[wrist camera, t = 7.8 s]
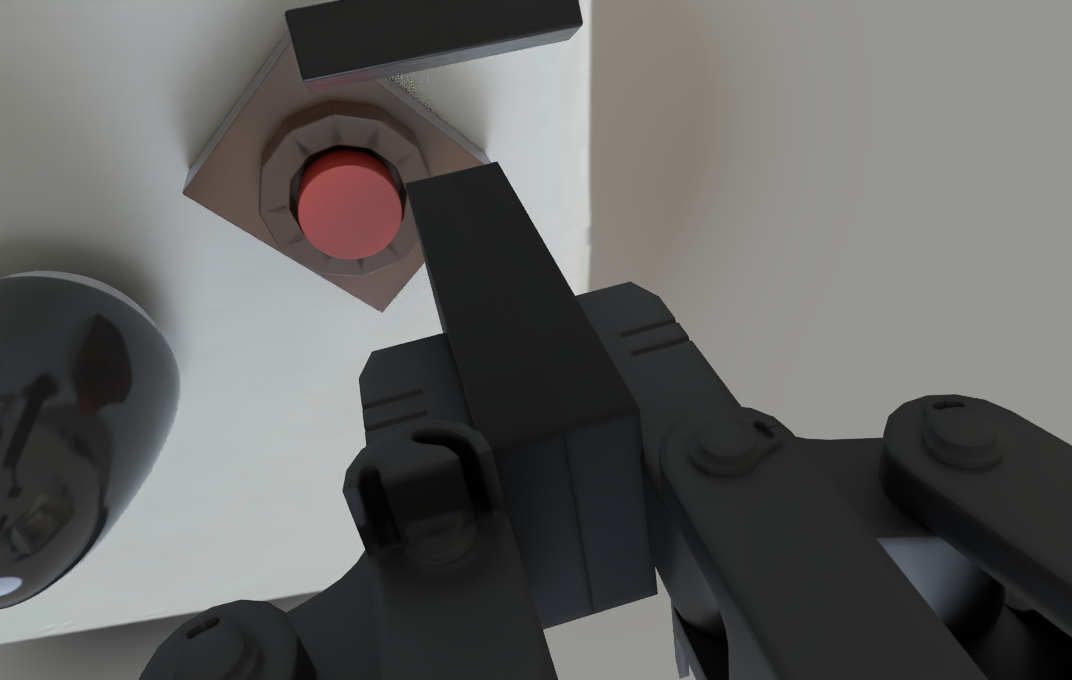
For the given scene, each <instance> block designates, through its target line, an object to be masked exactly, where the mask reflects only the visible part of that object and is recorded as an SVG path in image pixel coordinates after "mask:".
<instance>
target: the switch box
mask: <svg viewBox="0 0 1072 680" xmlns="http://www.w3.org/2000/svg"><path fill="white" fill-rule="evenodd" d="M339 150H354V151H359V152H363V153H366V154H368V155H370V156H372V157H374V158H376V159H377V160H379V161H380V162H381V163H382V164H383V165H384V166H385V167H386V168H387V169H388V170H389V172H390V173H391V175H392V176H393V178H394V181H395V183H396V187H397V190H398V194H399V198H400V202H401V206H402V219H401V224H400V227H399V230H398V232H397V234H396V235H395V237H394V238H393V240H392V241H391V242H390V243H389V244H388V245H387V246H386V247H385V248H383V249H382V250H381V251H379V252H377V253H375V254H373V255H371V256H368V257H365V258H360V259H341V258H337V257H333V256H330V255H328V254H326V253H324V252H322V251H320V250H319V249H317V248H316V247H315V246H314V245H313V244H312V243H311V242H310V241H309V240H308V239H307V238H306V236H305V235H304V233H303V231H302V229H301V226H300V223H299V219H298V186H299V183H300V180H301V178H302V175H303V174H304V172H305V171H306V169H307V168H308V167H309V166H310V164H312V163H313V162H314V161H315V160H316V159H318V158H320V157H321V156H323V155H325V154H328V153H331V152H334V151H339ZM489 163H491V162H490V160H489V158H488V156H487V155H486V153H484V152H483V151H482V150H481V149H479V148H478V147H477V146H475V145H474V144H473V143H472V142H470V141H469V140H468V139H466V138H465V137H464V136H463V135H461V134H460V133H459V132H457V131H456V130H455V129H454V128H452V127H451V126H450V125H448V124H447V123H446V122H445V121H443V120H442V119H441V118H439V117H438V116H437V115H436V114H434V113H433V112H432V111H431V110H429V109H428V108H427V107H425V106H424V105H423V104H422V103H420V102H419V101H418V100H416V99H415V98H414V97H413V96H411V95H410V94H409V93H407V92H406V91H405V90H404V89H402V88H401V87H400V86H398V85H397V84H396V83H395V82H393V81H392V80H391V79H390V78H388V77H385V78H380V79H375V80H370V81H365V82H361V83H356V84H351V85H346V86H341V87H336V88H331V89H326V90H321V91H317V92H310V91H309V90H308V88H307V87H306V85H305V84H304V82H303V81H302V79H301V75H300V72H299V68H298V64H297V60H296V56H295V53H294V49H293V45H292V41H291V37H290V34H289V30H288V31H287V32H286V33H285V35H284V36H283V38H282V39H281V40H280V42H279V43H278V45H277V46H276V47H275V49H274V50H273V52H272V53H271V55H270V56H269V57H268V59H267V60H266V62H265V63H264V64H263V66H262V67H261V69H260V70H259V72H258V73H257V74H256V76H255V77H254V79H253V80H252V81H251V83H250V84H249V86H248V87H247V89H246V90H245V91H244V93H243V94H242V96H241V97H240V98H239V100H238V101H237V103H236V104H235V105H234V107H233V108H232V110H231V111H230V113H229V114H228V115H227V117H226V118H225V120H224V121H223V122H222V124H221V125H220V127H219V128H218V130H217V131H216V132H215V134H214V135H213V137H212V138H211V139H210V141H209V142H208V144H207V145H206V146H205V148H204V149H203V151H202V152H201V154H200V155H199V156H198V158H197V159H196V161H195V162H194V163H193V165H192V166H191V168H190V169H189V172H188V175H187V179H186V182H185V186H184V189H183V194H184V195H185V196H187V197H189V198H190V199H192V200H194V201H195V202H197V203H199V204H200V205H202V206H204V207H205V208H207V209H209V210H211V211H212V212H214V213H216V214H217V215H219V216H221V217H222V218H224V219H226V220H227V221H229V222H231V223H232V224H234V225H236V226H237V227H239V228H241V229H242V230H244V231H246V232H247V233H249V234H251V235H252V236H254V237H256V238H258V239H259V240H261V241H263V242H264V243H266V244H268V245H269V246H271V247H273V248H274V249H276V250H278V251H279V252H281V253H283V254H284V255H286V256H288V257H289V258H291V259H293V260H294V261H296V262H298V263H299V264H301V265H303V266H304V267H306V268H308V269H310V270H311V271H313V272H315V273H316V274H318V275H320V276H321V277H323V278H325V279H326V280H328V281H330V282H331V283H333V284H335V285H336V286H338V287H340V288H341V289H343V290H345V291H346V292H348V293H350V294H351V295H353V296H355V297H357V298H358V299H360V300H362V301H363V302H365V303H367V304H368V305H370V306H372V307H373V308H375V309H377V310H378V311H380V312H383V311H384V310H385V309H386V308H387V306H388V305H389V304H390V303H391V302H392V300H393V299H394V298H395V297H396V296H397V294H398V293H399V292H400V291H401V290H402V289H403V287H404V286H405V285H406V284H407V283H408V281H409V280H410V279H411V278H412V277H413V275H414V274H415V273H416V272H417V271H418V269H419V268H420V267H421V266H422V265H423V263H424V262H425V260H424V256H423V252H422V248H421V245H420V241H419V237H418V233H417V229H416V225H415V221H414V217H413V213H412V210H411V206H410V202H409V198H408V194H407V190H406V186H405V183H409V182H413V181H418V180H422V179H426V178H430V177H434V176H439V175H443V174H447V173H451V172H455V171H460V170H464V169H468V168H472V167H477V166H481V165H485V164H489Z"/></svg>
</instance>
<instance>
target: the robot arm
mask: <svg viewBox="0 0 1072 680" xmlns="http://www.w3.org/2000/svg"><path fill="white" fill-rule="evenodd" d="M405 186H406V190H407V194H408V198H409V202H410V206H411V210H412V213H413V217H414V221H415V225H416V229H417V233H418V237H419V241H420V245H421V248H422V252H423V256H424V260H425V264H426V268H427V272H428V276H429V280H430V284H431V287H432V291H433V295H434V299H435V303H436V307H437V311H438V315H439V319H440V322H441V326H442V330H443V333H442V334H438V335H434V336H430V337H426V338H423V339H419V340H415V341H411V342H407V343H403V344H400V345H396V346H392V347H388V348H384V349H380V350H377V351H373V352H372V353H371V355H370V357H369V359H368V361H367V363H366V365H365V367H364V369H363V371H362V373H361V375H360V377H359V385H360V394H361V403H362V407H363V410H362V411H363V420H364V428H365V431H366V432H365V438H366V447H365V448H363V449H362V450H361V451H360V452H359V454H358V455H357V456H356V458H355V459H354V461H353V462H352V463H351V465H350V466H349V468H348V469H347V471H346V476H345V481H344V486H343V494H344V496H345V499H346V501H347V504H348V507H349V509H350V512H351V514H352V517H353V519H354V522H355V524H356V527H357V529H358V532H359V534H360V537H361V539H362V542H363V544H364V547H365V551H364V553H363V554H362V556H361V557H360V559H359V560H358V562H357V563H356V564H355V565H354V566H353V567H352V568H351V569H350V570H349V571H348V572H347V573H346V574H345V575H344V576H343V577H342V578H341V579H340V580H338V581H337V582H335V583H334V584H333V585H331V586H330V587H328V588H327V589H325V590H324V591H323V592H321V593H319V594H318V595H316V596H314V597H312V598H311V599H309V600H307V601H306V602H304V603H302V604H300V605H299V606H297V607H295V608H294V609H292V610H290V611H289V612H287V613H286V612H284V611H282V610H280V609H279V608H277V607H275V606H273V605H272V604H270V603H268V602H266V601H252V600H238V601H234V602H230V603H226V604H222V605H219V606H215V607H211V608H210V609H208V610H206V611H204V612H203V613H201V614H199V615H197V616H196V617H194V618H192V619H190V620H188V621H187V622H185V623H183V624H182V625H181V626H180V627H179V628H178V629H177V630H176V631H175V632H173V633H172V634H171V635H170V636H169V637H168V638H167V639H166V640H165V641H164V642H163V643H162V644H161V645H160V646H159V647H158V648H157V650H156V651H155V653H154V655H153V656H152V658H151V659H150V661H149V663H148V664H147V666H146V668H145V669H144V671H143V672H142V674H141V676H140V678H139V680H558V678H557V674H556V671H555V668H554V665H553V661H552V658H551V655H550V652H549V648H548V645H547V642H546V639H545V635H544V632H543V629H546V628H550V627H553V626H556V625H559V624H563V623H566V622H569V621H572V620H576V619H579V618H582V617H585V616H589V615H592V614H595V613H598V612H602V611H605V610H608V609H611V608H614V607H617V606H621V605H624V604H627V603H631V602H634V601H637V600H640V599H644V598H647V597H650V596H653V595H656V594H658V592H657V582H656V573H655V567H656V569H657V571H658V573H659V575H660V577H661V579H662V581H663V583H664V586H665V588H666V590H667V592H668V594H669V596H670V598H671V608H672V620H673V633H674V644H675V657H676V663H677V668H678V672H679V677H680V678H683V677H686V676H689V665H690V667H691V670H692V672H693V674H694V676H695V678H696V680H1072V446H1071V445H1069V444H1068V443H1066V442H1064V441H1063V440H1061V439H1059V438H1058V437H1056V436H1054V435H1052V434H1051V433H1049V432H1047V431H1045V430H1044V429H1042V428H1040V427H1038V426H1036V425H1035V424H1033V423H1031V422H1029V421H1028V420H1026V419H1024V418H1023V417H1021V416H1019V415H1017V414H1016V413H1014V412H1012V411H1010V410H1008V409H1005V408H1003V407H1001V406H998V405H996V404H993V403H991V402H989V401H986V400H983V399H978V398H972V397H967V396H961V395H955V394H954V395H953V394H952V395H929V396H924V397H921V398H918V399H915V400H912V401H909V402H906V403H904V404H902V405H901V406H900V407H899V408H898V409H896V410H895V411H894V412H893V413H892V414H891V415H889V417H888V420H887V424H886V427H885V431H884V434H883V438H865V439H838V440H822V439H821V440H820V439H805V438H800V437H795V436H794V434H793V433H792V432H791V431H790V430H789V429H788V428H786V427H785V426H784V425H783V424H782V423H781V422H779V421H778V420H777V419H776V418H775V417H773V416H770V415H767V414H765V413H762V412H760V411H757V410H755V409H752V408H746V407H741V406H740V404H739V403H738V402H737V400H736V399H735V398H734V396H733V395H732V394H731V393H730V391H729V390H728V388H727V387H726V386H725V384H724V383H723V382H722V380H721V379H720V378H719V376H718V375H717V374H716V372H715V371H714V370H713V368H712V367H711V366H710V364H709V363H708V362H707V360H706V359H705V357H704V356H703V355H702V353H701V352H700V351H699V350H698V348H697V347H696V345H694V343H693V341H690V340H689V337H688V335H687V334H686V332H685V331H684V330H683V328H682V327H681V325H680V324H679V323H676V321H675V317H674V316H673V315H672V313H671V312H670V311H669V309H668V308H667V307H666V305H665V304H664V303H663V302H662V300H661V299H660V297H659V296H657V295H655V294H653V293H651V292H649V291H647V290H645V289H643V288H641V287H640V286H638V285H636V284H634V283H632V282H627V283H623V284H620V285H615V286H612V287H608V288H604V289H600V290H596V291H592V292H589V293H585V294H581V295H577V296H575V295H574V293H573V292H572V290H571V288H570V287H569V285H568V283H567V281H566V280H565V278H564V276H563V274H562V273H561V271H560V269H559V267H558V266H557V264H556V262H555V261H554V259H553V257H552V255H551V254H550V252H549V250H548V248H547V247H546V245H545V243H544V241H543V240H542V238H541V236H540V235H539V233H538V231H537V229H536V228H535V226H534V224H533V222H532V221H531V219H530V217H529V215H528V214H527V212H526V210H525V209H524V207H523V205H522V203H521V202H520V200H519V198H518V196H517V195H516V193H515V191H514V189H513V188H512V186H511V184H510V183H509V181H508V179H507V177H506V176H505V174H504V172H503V170H502V169H501V167H500V165H499V164H498V162H493V163H489V164H485V165H481V166H477V167H472V168H468V169H464V170H460V171H455V172H451V173H447V174H443V175H439V176H434V177H430V178H426V179H422V180H418V181H413V182H409V183H405ZM688 663H689V664H688Z"/></svg>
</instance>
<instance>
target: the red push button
mask: <svg viewBox="0 0 1072 680" xmlns="http://www.w3.org/2000/svg"><path fill="white" fill-rule="evenodd" d="M298 219H299V223H300V226H301V229H302V231H303V233H304V235H305V236H306V238H307V239H308V240H309V241H310V242H311V243H312V244H313V245H314V246H315V247H316V248H317V249H319V250H320V251H322V252H324V253H326V254H328V255H330V256H333V257H337V258H341V259H360V258H365V257H368V256H371V255H373V254H375V253H377V252H379V251H381V250H382V249H383V248H385V247H386V246H387V245H388V244H389V243H390V242H391V241H392V240H393V238H394V237H395V235H396V234H397V232H398V230H399V227H400V224H401V219H402V206H401V202H400V198H399V194H398V190H397V187H396V183H395V181H394V178H393V176H392V175H391V173H390V172H389V170H388V169H387V168H386V167H385V166H384V165H383V164H382V163H381V162H380V161H379V160H377V159H376V158H374V157H372V156H370V155H368V154H366V153H363V152H359V151H354V150H339V151H334V152H331V153H328V154H325V155H323V156H321V157H320V158H318V159H316V160H315V161H314V162H313V163H312V164H310V166H309V167H308V168H307V169H306V171H305V172H304V174H303V175H302V178H301V180H300V183H299V186H298Z"/></svg>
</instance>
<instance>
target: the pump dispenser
mask: <svg viewBox="0 0 1072 680" xmlns="http://www.w3.org/2000/svg"><path fill="white" fill-rule="evenodd" d="M179 397H180V376H179V370H178V366H177V363H176V360H175V357H174V355H173V353H172V351H171V349H170V347H169V345H168V343H167V342H166V340H165V339H164V337H163V336H162V334H161V332H160V331H159V329H158V327H157V326H156V324H155V323H154V322H153V320H152V319H151V318H150V316H149V315H148V314H147V313H146V312H145V311H144V310H143V309H142V308H141V307H140V306H139V305H138V304H137V303H136V302H134V301H133V300H132V299H130V298H129V297H128V296H126V295H125V294H123V293H122V292H120V291H119V290H117V289H115V288H113V287H111V286H109V285H107V284H105V283H103V282H100V281H98V280H95V279H92V278H89V277H85V276H82V275H78V274H73V273H67V272H59V271H31V272H23V273H17V274H12V275H8V276H4V277H1V278H0V609H4V608H8V607H11V606H14V605H17V604H20V603H22V602H24V601H26V600H28V599H31V598H32V597H34V596H36V595H38V594H40V593H41V592H43V591H45V590H46V589H48V588H49V587H51V586H52V585H54V584H55V583H57V582H58V581H59V580H61V579H62V578H63V577H65V576H66V575H67V574H69V573H70V572H71V571H72V570H73V569H74V568H76V567H77V566H78V565H79V564H80V563H81V562H82V561H83V560H84V559H85V558H86V557H87V556H88V555H89V554H90V553H91V552H92V551H93V550H94V549H95V548H96V547H97V546H98V545H99V544H100V542H101V541H102V540H103V539H104V538H105V537H106V535H107V534H108V533H109V532H110V530H111V529H112V528H113V526H114V525H115V524H116V522H117V521H118V520H119V518H120V517H121V516H122V514H123V513H124V512H125V510H126V509H127V507H128V506H129V505H130V503H131V502H132V500H133V499H134V497H135V496H136V494H137V493H138V491H139V490H140V488H141V487H142V485H143V484H144V482H145V480H146V479H147V477H148V475H149V474H150V472H151V470H152V468H153V466H154V465H155V463H156V461H157V459H158V457H159V455H160V453H161V451H162V449H163V446H164V444H165V442H166V440H167V438H168V436H169V433H170V431H171V428H172V426H173V423H174V420H175V416H176V412H177V408H178V403H179Z"/></svg>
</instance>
